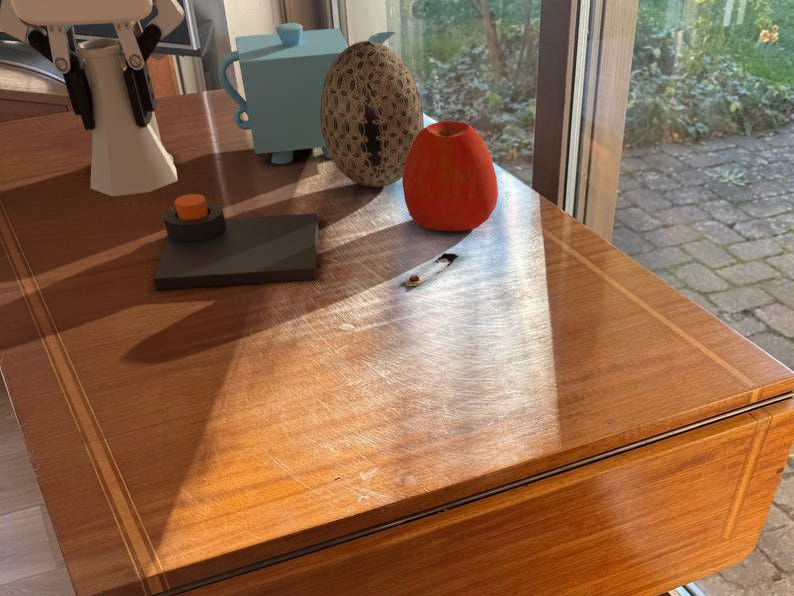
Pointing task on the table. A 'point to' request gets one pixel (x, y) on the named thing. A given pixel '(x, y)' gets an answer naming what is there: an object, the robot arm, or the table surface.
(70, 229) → the table surface
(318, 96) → the teapot
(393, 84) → the decorative egg
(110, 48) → the flask
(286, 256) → the scale
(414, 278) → the fossil
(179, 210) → the button
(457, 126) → the apple
